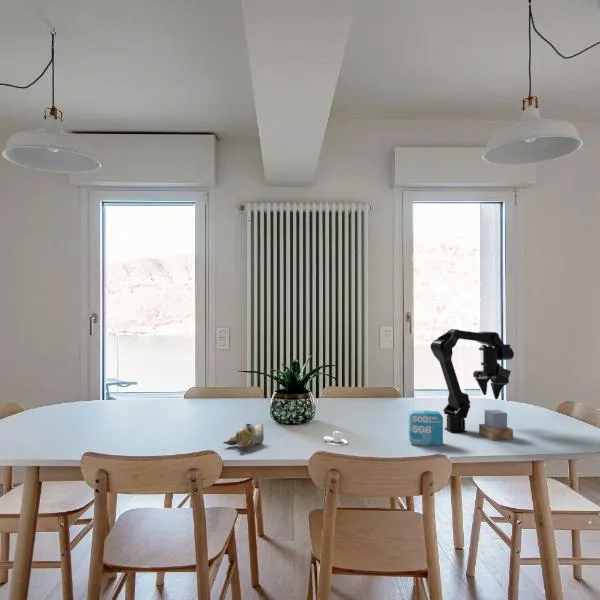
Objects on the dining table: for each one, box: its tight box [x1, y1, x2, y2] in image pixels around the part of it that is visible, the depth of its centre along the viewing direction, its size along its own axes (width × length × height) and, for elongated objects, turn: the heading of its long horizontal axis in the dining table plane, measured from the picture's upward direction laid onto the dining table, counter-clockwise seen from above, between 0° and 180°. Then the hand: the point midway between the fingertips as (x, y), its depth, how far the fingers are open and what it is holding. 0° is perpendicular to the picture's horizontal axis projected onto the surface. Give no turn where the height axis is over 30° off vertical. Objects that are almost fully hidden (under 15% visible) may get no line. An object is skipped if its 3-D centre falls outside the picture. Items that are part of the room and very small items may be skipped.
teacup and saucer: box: [323, 430, 348, 446], centre depth 171 cm, size 9×8×4 cm
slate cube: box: [484, 409, 508, 429], centre depth 179 cm, size 6×6×6 cm
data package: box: [408, 410, 444, 447], centre depth 169 cm, size 12×4×12 cm, turn 84°
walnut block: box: [478, 423, 514, 441], centre depth 179 cm, size 9×9×4 cm
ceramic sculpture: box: [223, 423, 265, 450], centre depth 165 cm, size 11×9×15 cm
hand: (490, 396), depth 193 cm, fingers open, 9 cm apart
